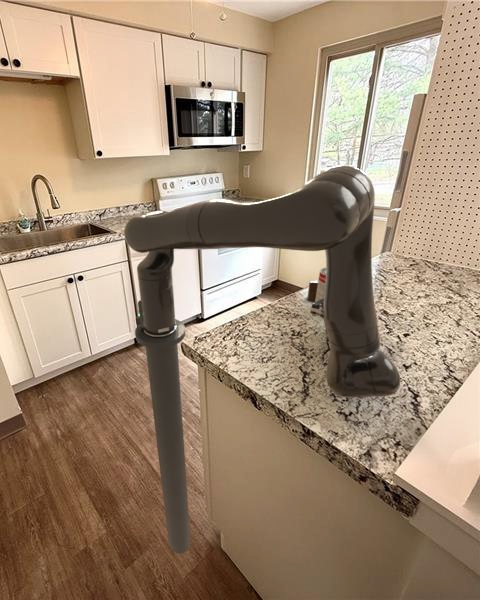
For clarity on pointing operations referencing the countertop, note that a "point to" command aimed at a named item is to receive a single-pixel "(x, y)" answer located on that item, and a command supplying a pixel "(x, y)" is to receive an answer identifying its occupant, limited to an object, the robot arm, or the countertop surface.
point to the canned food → (321, 285)
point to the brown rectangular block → (312, 290)
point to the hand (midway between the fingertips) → (334, 295)
